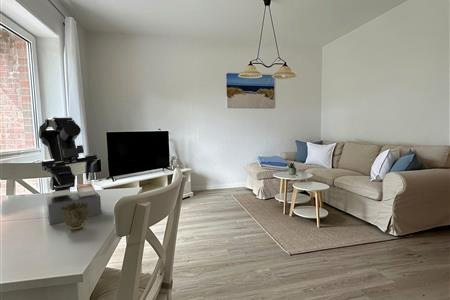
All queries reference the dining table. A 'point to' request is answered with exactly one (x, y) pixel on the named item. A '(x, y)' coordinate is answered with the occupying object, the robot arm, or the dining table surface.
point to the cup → (75, 215)
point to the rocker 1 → (60, 193)
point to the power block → (57, 202)
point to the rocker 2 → (85, 189)
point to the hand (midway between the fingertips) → (74, 182)
